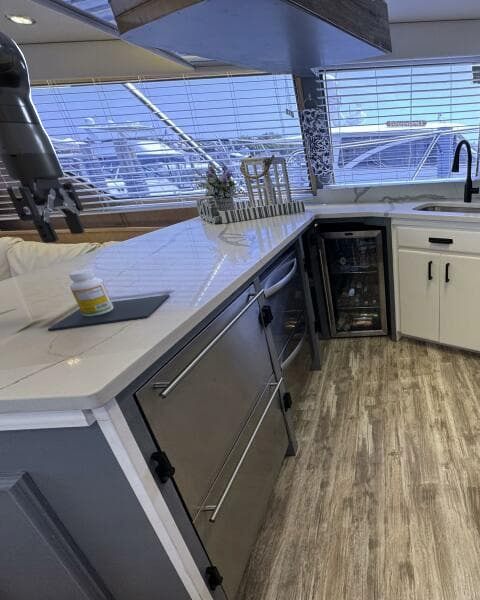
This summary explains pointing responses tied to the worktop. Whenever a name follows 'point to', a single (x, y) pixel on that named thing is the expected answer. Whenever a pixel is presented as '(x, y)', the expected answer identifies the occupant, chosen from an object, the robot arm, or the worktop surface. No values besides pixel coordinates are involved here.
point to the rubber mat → (114, 313)
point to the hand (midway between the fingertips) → (65, 237)
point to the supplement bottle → (90, 293)
